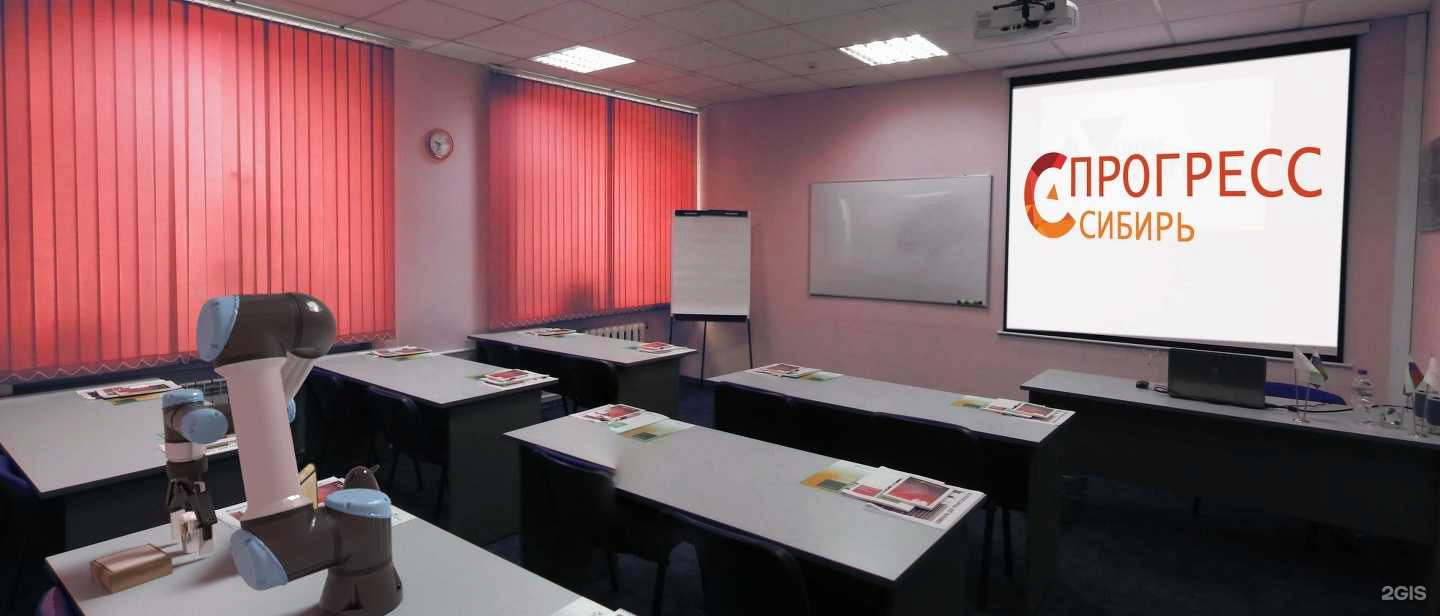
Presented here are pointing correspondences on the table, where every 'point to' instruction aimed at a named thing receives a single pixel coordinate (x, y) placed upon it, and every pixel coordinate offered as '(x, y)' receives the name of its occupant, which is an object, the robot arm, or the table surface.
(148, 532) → the table surface
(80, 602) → the table surface
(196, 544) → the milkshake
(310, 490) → the clutch purse
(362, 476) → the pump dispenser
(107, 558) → the dock
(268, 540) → the robot arm
